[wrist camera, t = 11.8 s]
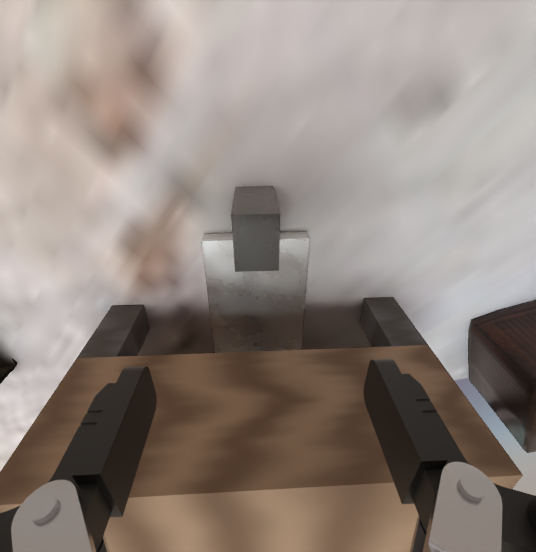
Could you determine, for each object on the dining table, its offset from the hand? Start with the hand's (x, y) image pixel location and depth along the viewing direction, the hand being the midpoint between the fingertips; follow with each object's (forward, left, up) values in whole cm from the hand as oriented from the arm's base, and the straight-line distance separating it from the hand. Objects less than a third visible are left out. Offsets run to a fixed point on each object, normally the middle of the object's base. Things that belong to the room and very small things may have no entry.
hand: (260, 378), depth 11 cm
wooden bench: (0, +15, -17) cm, 23 cm away
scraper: (0, +11, -17) cm, 21 cm away
